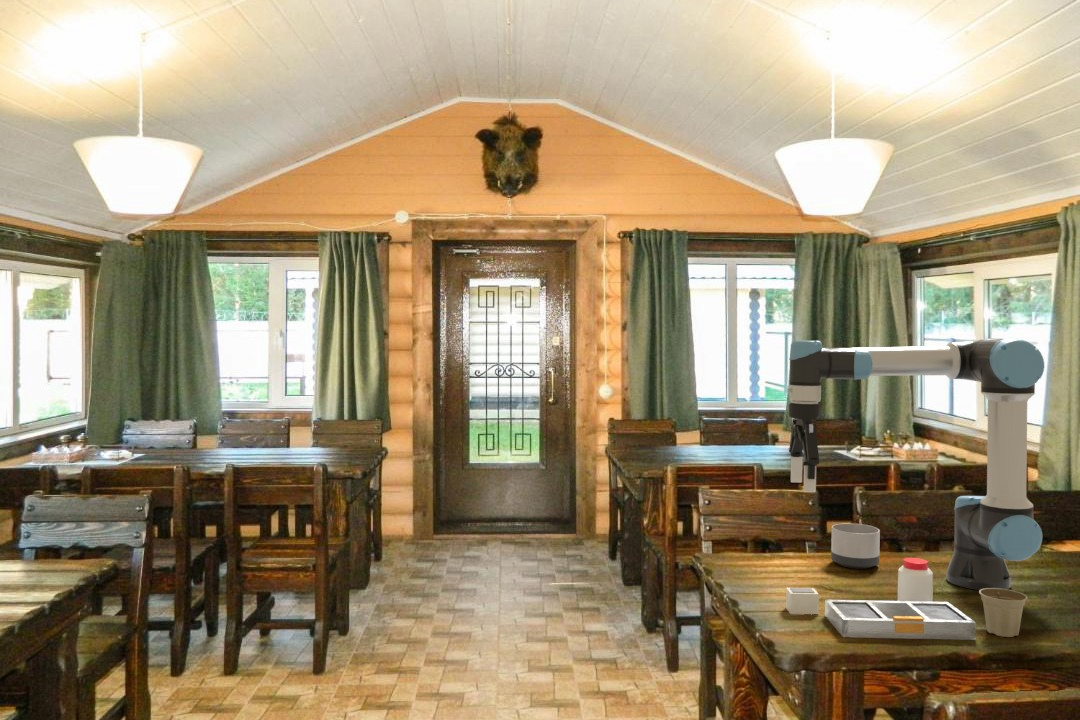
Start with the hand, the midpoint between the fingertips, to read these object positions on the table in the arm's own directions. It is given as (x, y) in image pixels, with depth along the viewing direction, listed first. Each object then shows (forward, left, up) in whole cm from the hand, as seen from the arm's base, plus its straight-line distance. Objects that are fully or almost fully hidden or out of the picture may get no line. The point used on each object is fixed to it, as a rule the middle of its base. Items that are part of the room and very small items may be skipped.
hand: (802, 487), depth 212 cm
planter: (-23, -30, -28) cm, 47 cm away
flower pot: (-38, +24, -28) cm, 52 cm away
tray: (-16, +22, -27) cm, 38 cm away
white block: (+3, +12, -28) cm, 30 cm away
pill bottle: (-26, +6, -28) cm, 38 cm away
